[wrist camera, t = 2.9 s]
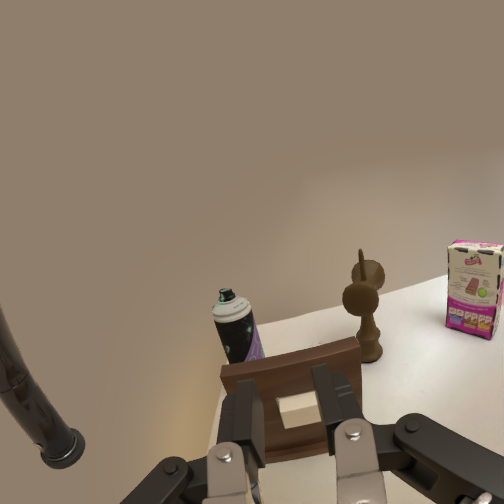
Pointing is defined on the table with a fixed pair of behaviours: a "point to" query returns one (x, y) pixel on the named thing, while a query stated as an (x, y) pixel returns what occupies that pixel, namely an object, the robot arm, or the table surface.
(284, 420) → the switch paddle
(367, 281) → the kendama
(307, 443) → the wall plate
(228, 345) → the spray can
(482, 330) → the candy bar box
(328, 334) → the table surface
